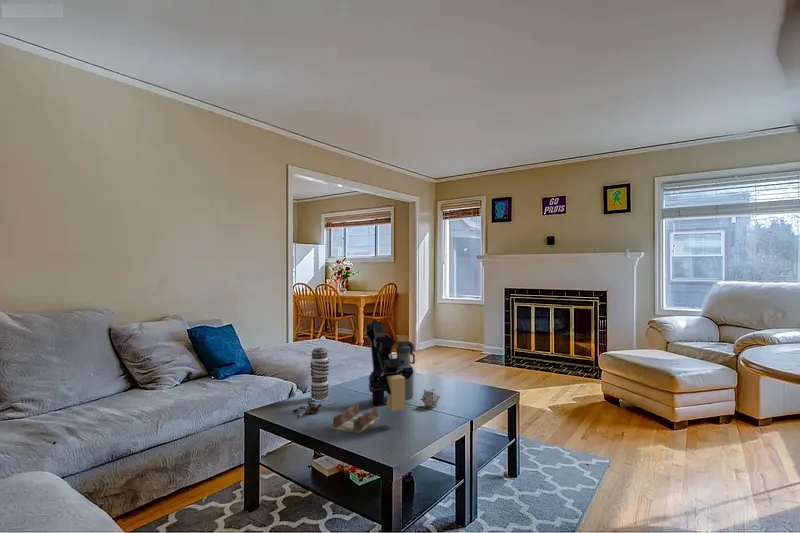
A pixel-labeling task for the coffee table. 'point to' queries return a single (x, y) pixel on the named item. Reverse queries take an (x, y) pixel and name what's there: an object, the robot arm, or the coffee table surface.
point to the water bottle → (406, 364)
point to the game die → (430, 398)
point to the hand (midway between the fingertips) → (397, 392)
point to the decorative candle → (319, 374)
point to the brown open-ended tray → (355, 420)
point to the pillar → (396, 392)
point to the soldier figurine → (308, 409)
